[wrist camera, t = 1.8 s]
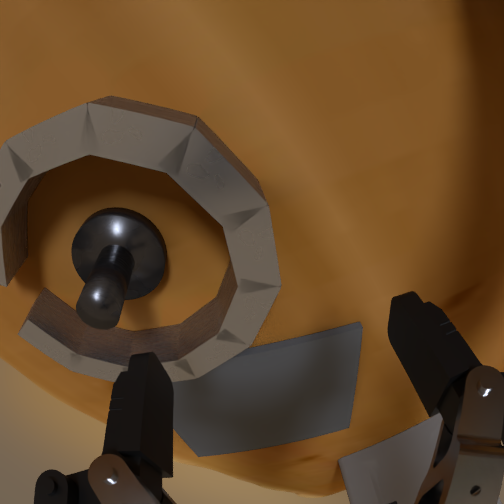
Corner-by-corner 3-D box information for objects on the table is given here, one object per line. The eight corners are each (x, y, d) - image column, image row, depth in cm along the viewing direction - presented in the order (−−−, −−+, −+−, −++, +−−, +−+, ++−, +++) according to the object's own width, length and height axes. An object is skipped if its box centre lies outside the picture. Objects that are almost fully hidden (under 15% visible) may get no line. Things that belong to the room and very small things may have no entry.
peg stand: (63, 221, 15) (24, 275, 11) (149, 196, 15) (127, 249, 11) (99, 295, 18) (78, 357, 14) (178, 279, 18) (172, 345, 14)
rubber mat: (131, 367, 22) (130, 373, 21) (359, 321, 22) (362, 327, 21) (198, 452, 31) (198, 456, 30) (347, 423, 31) (349, 427, 31)
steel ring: (-33, 165, 12) (-64, 185, 10) (236, 62, 12) (242, 59, 10) (73, 359, 21) (64, 390, 18) (283, 325, 21) (292, 360, 19)
